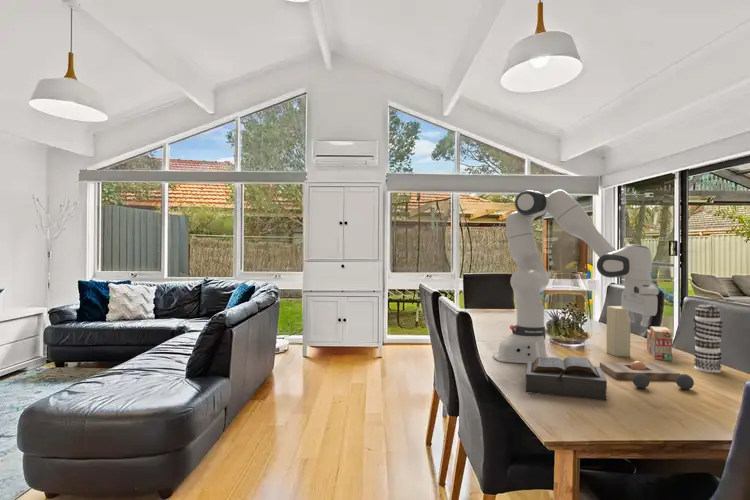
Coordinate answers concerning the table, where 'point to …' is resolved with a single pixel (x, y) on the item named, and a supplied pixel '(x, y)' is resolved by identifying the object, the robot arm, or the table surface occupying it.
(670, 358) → the stack of blocks
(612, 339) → the toy refrigerator
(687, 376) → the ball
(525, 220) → the robot arm
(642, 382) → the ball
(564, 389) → the bible
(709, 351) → the black white tall cylinder
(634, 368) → the terracotta ball
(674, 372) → the walnut board
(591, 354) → the table surface
